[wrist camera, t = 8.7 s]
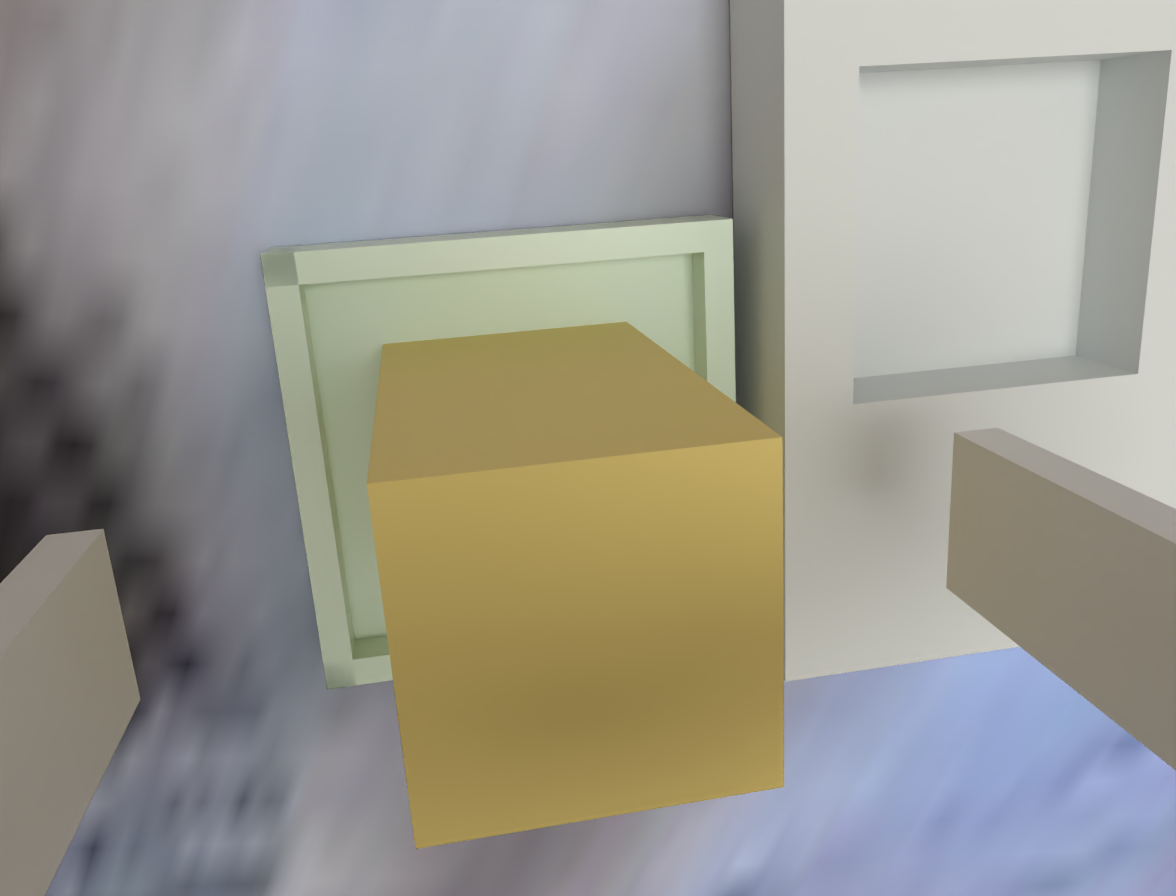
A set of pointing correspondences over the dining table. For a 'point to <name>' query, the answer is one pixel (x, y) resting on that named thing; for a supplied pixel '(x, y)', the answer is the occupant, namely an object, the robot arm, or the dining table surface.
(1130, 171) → the recessed block
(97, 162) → the dining table surface
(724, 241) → the tray
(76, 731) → the robot arm
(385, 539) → the block
